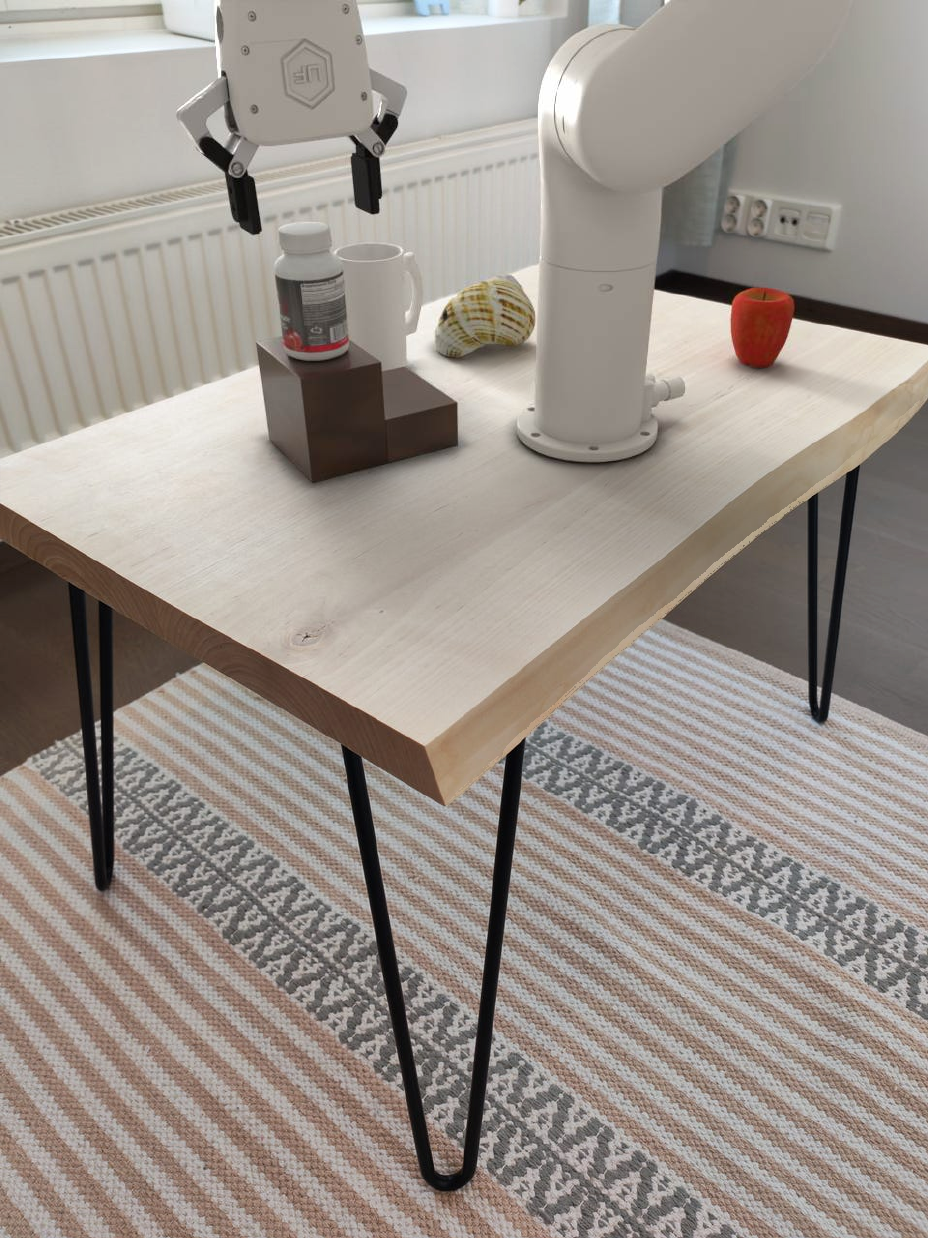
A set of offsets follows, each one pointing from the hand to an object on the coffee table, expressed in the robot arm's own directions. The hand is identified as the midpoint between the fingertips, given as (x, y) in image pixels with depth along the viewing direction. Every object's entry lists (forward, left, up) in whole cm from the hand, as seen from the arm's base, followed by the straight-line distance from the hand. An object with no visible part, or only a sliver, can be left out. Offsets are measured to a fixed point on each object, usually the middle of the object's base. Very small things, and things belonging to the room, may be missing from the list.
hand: (310, 220), depth 75 cm
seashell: (-25, -15, -20) cm, 35 cm away
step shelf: (-3, 0, -19) cm, 19 cm away
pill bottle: (0, 0, -11) cm, 10 cm away
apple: (-46, +4, -20) cm, 50 cm away
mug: (-13, -15, -19) cm, 28 cm away
